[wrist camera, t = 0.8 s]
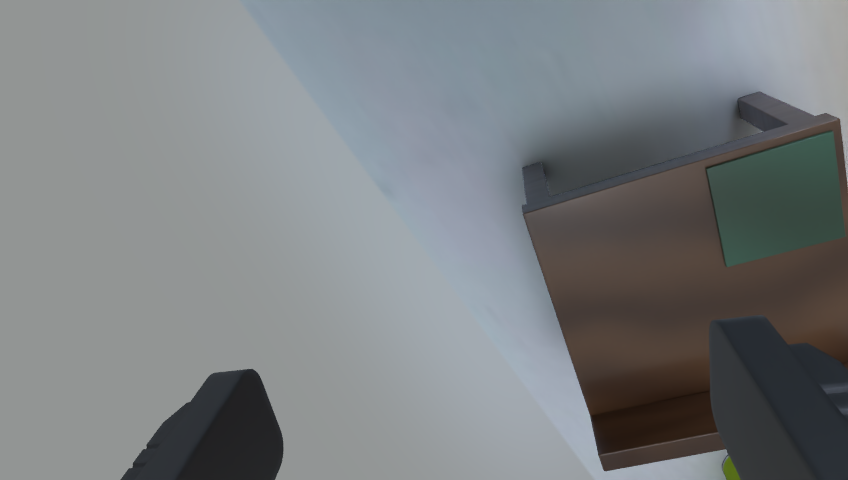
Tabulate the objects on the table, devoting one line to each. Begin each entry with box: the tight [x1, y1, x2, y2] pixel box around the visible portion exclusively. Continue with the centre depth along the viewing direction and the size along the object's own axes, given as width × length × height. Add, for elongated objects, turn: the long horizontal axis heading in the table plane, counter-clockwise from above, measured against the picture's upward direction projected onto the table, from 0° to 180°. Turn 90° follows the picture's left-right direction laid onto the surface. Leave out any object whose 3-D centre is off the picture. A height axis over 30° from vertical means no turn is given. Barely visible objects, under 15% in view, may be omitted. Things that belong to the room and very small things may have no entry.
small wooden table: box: [522, 92, 848, 471], centre depth 31 cm, size 14×14×11 cm
